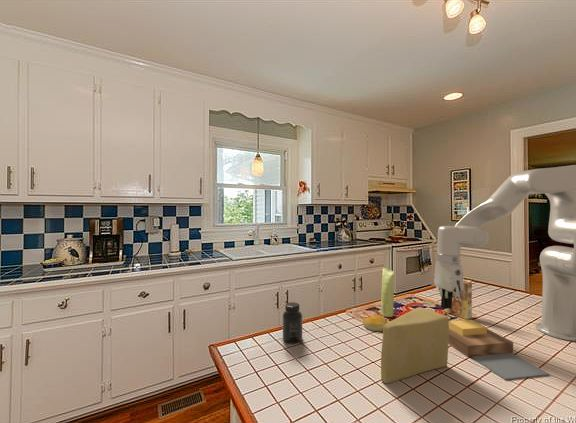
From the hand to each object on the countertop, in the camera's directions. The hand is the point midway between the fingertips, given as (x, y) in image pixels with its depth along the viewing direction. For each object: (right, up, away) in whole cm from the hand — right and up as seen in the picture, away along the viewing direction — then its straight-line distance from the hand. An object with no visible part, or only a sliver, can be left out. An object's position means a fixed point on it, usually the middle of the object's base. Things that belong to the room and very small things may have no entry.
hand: (446, 307), depth 101 cm
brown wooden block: (+2, -8, -11) cm, 14 cm away
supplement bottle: (-58, -8, -8) cm, 59 cm away
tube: (-18, -8, +13) cm, 23 cm away
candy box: (+13, -8, +13) cm, 20 cm away
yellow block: (+2, -5, -9) cm, 10 cm away
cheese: (-25, -9, -25) cm, 37 cm away
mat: (+4, -9, -23) cm, 25 cm away
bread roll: (-26, -8, +2) cm, 27 cm away
